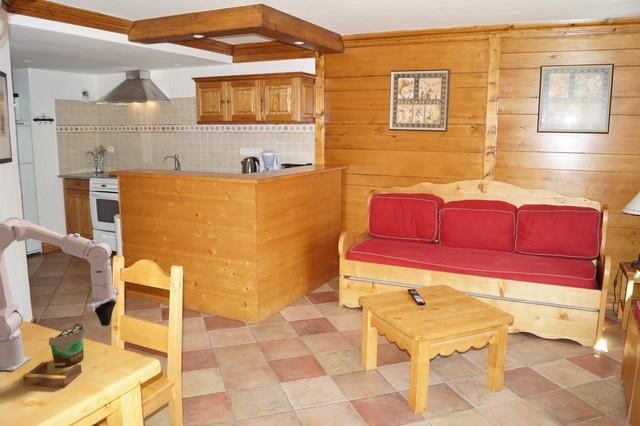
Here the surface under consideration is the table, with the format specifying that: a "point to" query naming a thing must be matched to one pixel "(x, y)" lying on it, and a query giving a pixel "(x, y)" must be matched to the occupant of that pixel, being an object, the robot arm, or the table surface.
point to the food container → (68, 346)
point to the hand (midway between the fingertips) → (105, 325)
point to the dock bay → (50, 376)
